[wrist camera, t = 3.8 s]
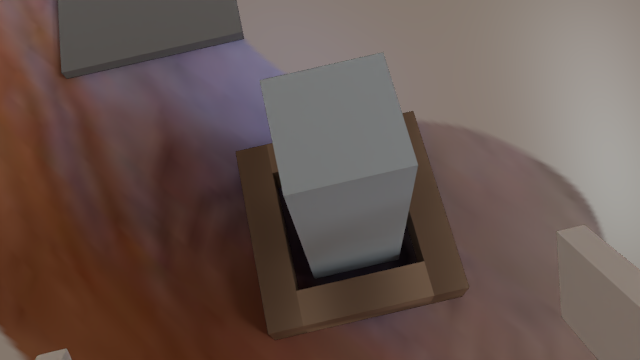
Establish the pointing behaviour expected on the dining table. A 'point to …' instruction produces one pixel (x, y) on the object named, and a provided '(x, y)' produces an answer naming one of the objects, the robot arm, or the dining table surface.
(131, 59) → the rubber pad
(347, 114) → the slate block
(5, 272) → the dining table surface
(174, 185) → the dining table surface
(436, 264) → the frame
